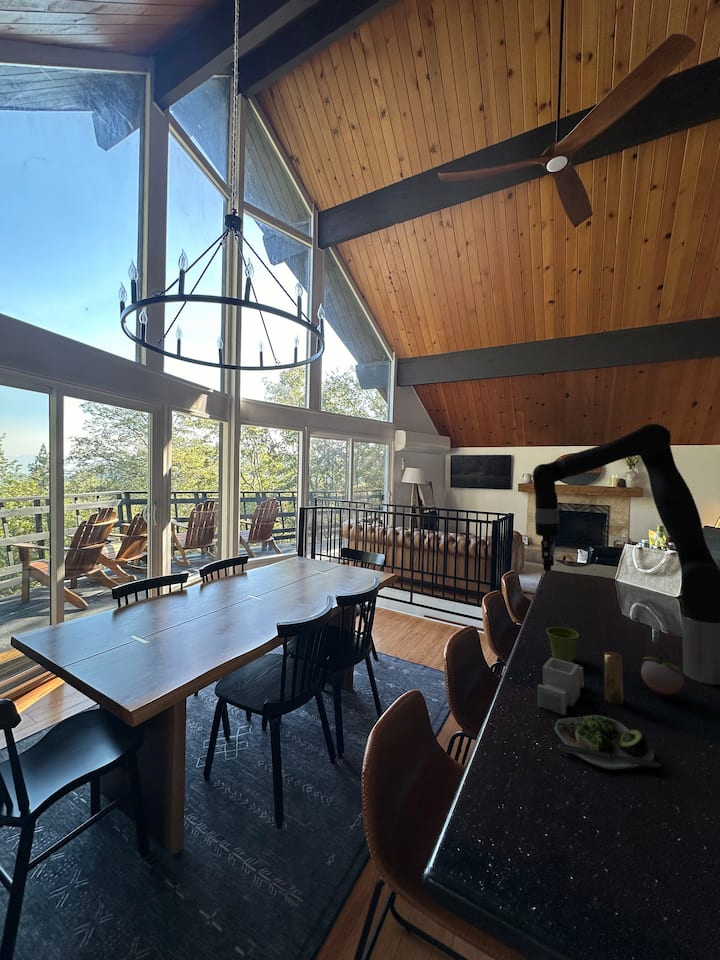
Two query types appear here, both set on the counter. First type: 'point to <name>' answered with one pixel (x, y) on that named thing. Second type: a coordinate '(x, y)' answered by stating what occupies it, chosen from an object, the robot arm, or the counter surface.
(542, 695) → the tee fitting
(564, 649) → the plant pot
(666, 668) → the decorative fruit
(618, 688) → the brown rounded rod
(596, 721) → the salad plate
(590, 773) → the counter surface
